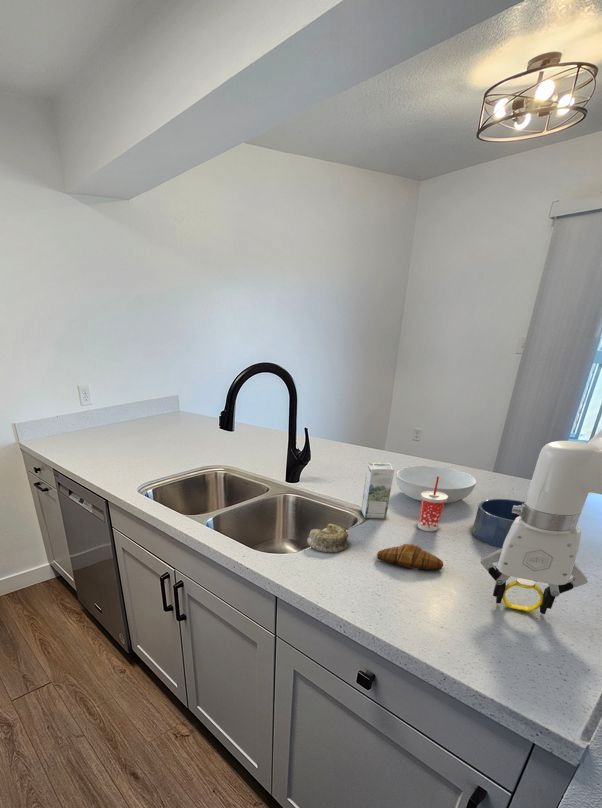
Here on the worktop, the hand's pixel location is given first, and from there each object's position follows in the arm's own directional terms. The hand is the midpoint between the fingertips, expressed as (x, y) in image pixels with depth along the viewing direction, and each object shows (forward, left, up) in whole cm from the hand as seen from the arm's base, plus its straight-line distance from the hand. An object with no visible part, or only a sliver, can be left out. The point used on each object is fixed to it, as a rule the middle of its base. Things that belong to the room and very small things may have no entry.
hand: (519, 604), depth 81 cm
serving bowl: (+21, -52, -1) cm, 56 cm away
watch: (0, 0, -1) cm, 1 cm away
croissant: (+20, -8, -1) cm, 22 cm away
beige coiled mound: (+39, -10, -1) cm, 41 cm away
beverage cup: (+19, -30, -1) cm, 36 cm away
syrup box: (+33, -32, -1) cm, 46 cm away
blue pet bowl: (+2, -33, -1) cm, 33 cm away
